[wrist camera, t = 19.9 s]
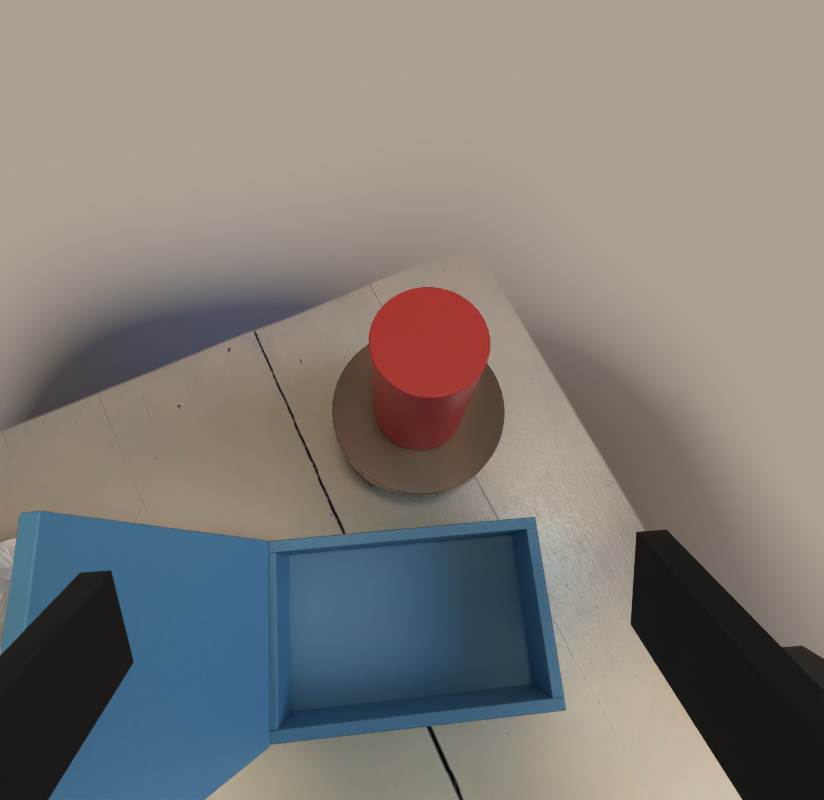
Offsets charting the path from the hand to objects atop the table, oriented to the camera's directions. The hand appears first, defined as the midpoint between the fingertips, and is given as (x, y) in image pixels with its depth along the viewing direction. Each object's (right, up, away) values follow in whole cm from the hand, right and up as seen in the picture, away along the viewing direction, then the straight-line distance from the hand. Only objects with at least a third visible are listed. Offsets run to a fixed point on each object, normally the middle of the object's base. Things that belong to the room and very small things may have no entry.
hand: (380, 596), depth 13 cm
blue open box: (0, -12, +29) cm, 31 cm away
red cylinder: (+1, +4, +27) cm, 27 cm away
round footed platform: (+1, +2, +33) cm, 33 cm away
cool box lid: (-10, -8, +12) cm, 18 cm away
